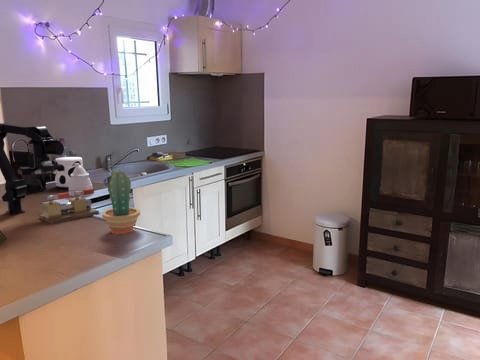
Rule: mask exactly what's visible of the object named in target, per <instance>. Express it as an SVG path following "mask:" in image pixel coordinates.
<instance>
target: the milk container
mask: <svg viewBox="0 0 480 360" xmlns="http://www.w3.org/2000/svg"><path fill="white" fill-rule="evenodd" d="M55 160H57V161H58V164H62V165H64V168H65V171H57V170H55V178H54V181H55V182H54V183H55V185H56V187H57V188H60V189H69V187H68V186H69V183H70V180H71V176H70V175H71V174H73V171H74V169H75V168H76V166H75V164H77V163H78V164H79V165H80V166H82V167H83V168H84V164H83V163H84V162H83V158H82V157H80V156H64V157H56V158H55Z"/></svg>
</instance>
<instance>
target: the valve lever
mask: <svg viewBox="0 0 480 360" xmlns="http://www.w3.org/2000/svg"><path fill="white" fill-rule="evenodd" d="M70 197H71V196H70V195H69V191H68V192H67V191H66V192H59V193H55V194H48V195H47V196H46V199H47V201H48V202H49V201H52V200H53V201H55V200H64V199H70Z"/></svg>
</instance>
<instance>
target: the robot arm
mask: <svg viewBox="0 0 480 360" xmlns="http://www.w3.org/2000/svg"><path fill="white" fill-rule="evenodd" d="M8 134H13V135H21V136H24V137H27V138H28V139H30V141H28V142H27V144H29V145H32V150H33V151H32V152H33V156H32V159H33V163H34V164H33V167H29V166H21V167H17V174H16V172H15V170H14V168H13V166H12V163H11V162H10V159H9V157H8V155H7V153H6V151H5V140H4V139H5V138H7V135H8ZM64 151H65V146H64V144H63V143H62V142H61V139H54V138H53V136H52V134H51V133H50V132H49V130H48V128H47V127H46V126H44V125H38V126H37V125H36V126H24V125H17V124H11V123H7V122H4V123H3V122H1V123H0V172H1V174H2V176H3V179H4V181H5V183H4V189H5V193H3V195H2V196H1V200H2V202H5V203H6V202H7V203H6V204H7V210H6V211H5V213H6V214H8V215H9V216H10V215H16V214H21V213H22V214H23V213H26V211H25V210H24V209H23V203H22V199H26V195H27V193H28V188H27V187H28V185H27V184H26V181H25V180H24V179H23V178H22V179H20V178H18V177H17V175H21V176H28V175H33V176H34V177H35V178H36V180H37V181H38V183H39V185H40V187H41V188H42V189H43V188H45V187H46V184H47V180H48V178H49V177H50V175H52V174H53V172H55V171H56V170H57V171H65V168H64V165H62V164H58V161H57V160H56V159H54V160H50V157H49V156H48V155H51V156H53V155H55V156H61V155H63V154H64Z"/></svg>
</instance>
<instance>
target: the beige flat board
mask: <svg viewBox="0 0 480 360" xmlns="http://www.w3.org/2000/svg"><path fill="white" fill-rule="evenodd" d="M99 214H100V211H99V210H97V209H94V208H92V207H91V210H87V211H85V212H80V213H73V212H70V211H68V214H66V215H62V214H61V216H60V217H55V218H50V219H48V218H46V217H43V213H42V214H38V217H39V219H41V220H43V221H44V222H47V223H50V224H51V225H54V224H58V223H63V222H67V220H68V221H72V219H73V220H76V219H82V218H86V217H90V216H91V217H92V216H96V215H99Z"/></svg>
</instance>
